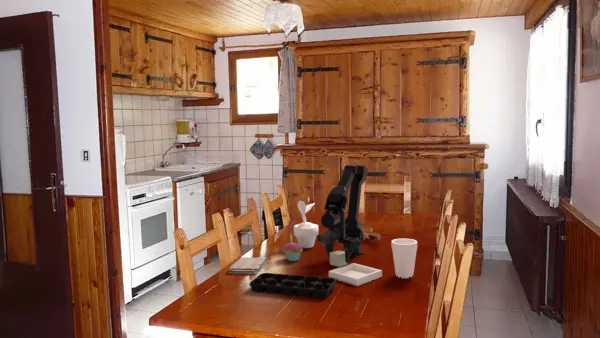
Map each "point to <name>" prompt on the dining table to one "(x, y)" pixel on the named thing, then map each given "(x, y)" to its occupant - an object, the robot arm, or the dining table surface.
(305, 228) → the potted plant
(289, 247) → the cupcake
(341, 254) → the cube
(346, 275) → the tray
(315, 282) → the egg carton
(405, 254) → the foam cup
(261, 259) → the washcloth
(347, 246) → the robot arm
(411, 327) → the dining table surface
